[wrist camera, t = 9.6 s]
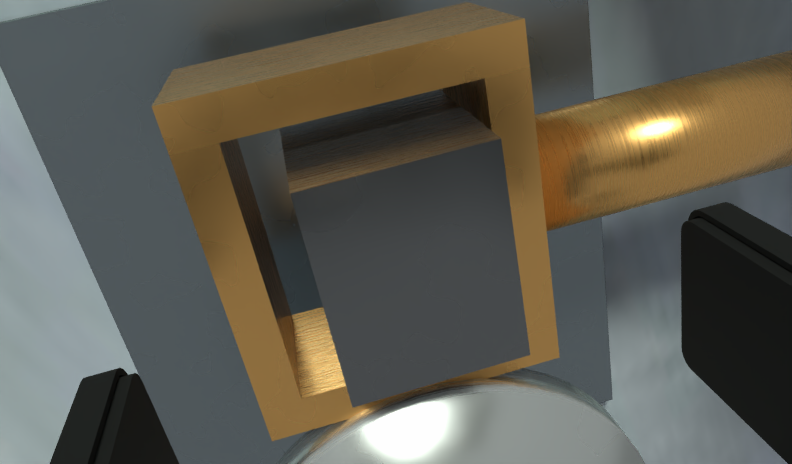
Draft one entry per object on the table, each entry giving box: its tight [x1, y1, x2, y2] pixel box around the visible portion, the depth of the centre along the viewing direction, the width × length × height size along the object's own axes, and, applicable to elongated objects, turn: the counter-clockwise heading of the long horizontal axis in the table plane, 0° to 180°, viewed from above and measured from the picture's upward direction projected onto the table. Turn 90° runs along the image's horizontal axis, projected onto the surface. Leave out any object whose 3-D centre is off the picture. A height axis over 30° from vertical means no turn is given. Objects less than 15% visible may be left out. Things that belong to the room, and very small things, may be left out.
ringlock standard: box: [0, 0, 792, 464], centre depth 19 cm, size 22×23×15 cm
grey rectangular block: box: [279, 89, 530, 408], centre depth 18 cm, size 5×4×10 cm
